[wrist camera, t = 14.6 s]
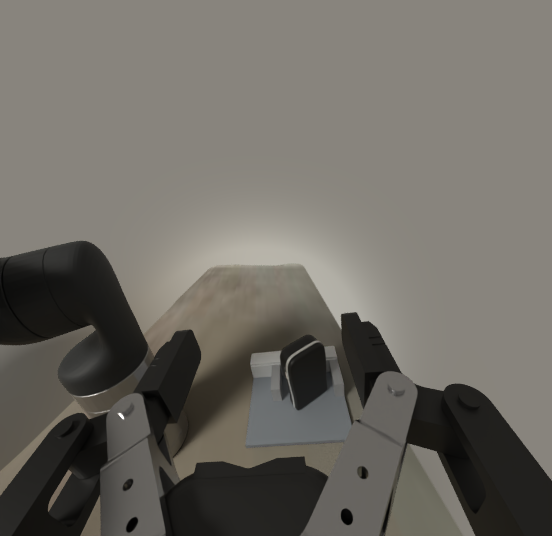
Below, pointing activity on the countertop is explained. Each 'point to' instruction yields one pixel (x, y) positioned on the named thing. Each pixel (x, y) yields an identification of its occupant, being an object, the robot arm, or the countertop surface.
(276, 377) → the bracket
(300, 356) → the black rounded block
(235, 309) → the countertop surface
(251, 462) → the countertop surface
